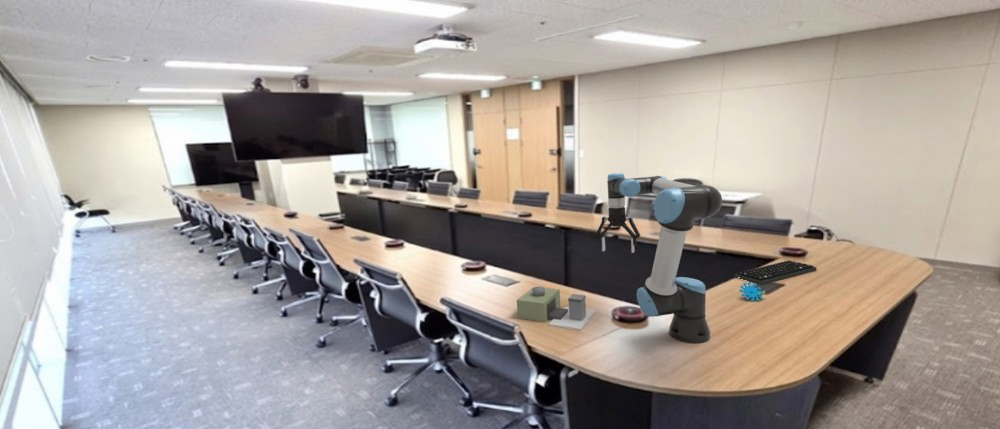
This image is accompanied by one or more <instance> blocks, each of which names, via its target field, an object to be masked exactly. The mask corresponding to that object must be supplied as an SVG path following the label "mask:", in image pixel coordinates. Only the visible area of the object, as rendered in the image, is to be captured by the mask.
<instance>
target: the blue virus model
mask: <svg viewBox="0 0 1000 429" xmlns="http://www.w3.org/2000/svg"><path fill="white" fill-rule="evenodd" d="M752 284H753V285H752ZM757 286H758V284H755V283H751V282H743V283H742V284H741V285H740V286H739V288H740V289H739V292H740V293H741V297H745V300H746V301H748V300H749V299H750V298H751V299H750V302H752V301H756V302H759V301H760V300H761V299H762V298H763V295H765V293H766V291H764V290H762V288H761V287H760V286H758V287H757ZM746 296H747V297H746Z"/></svg>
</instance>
